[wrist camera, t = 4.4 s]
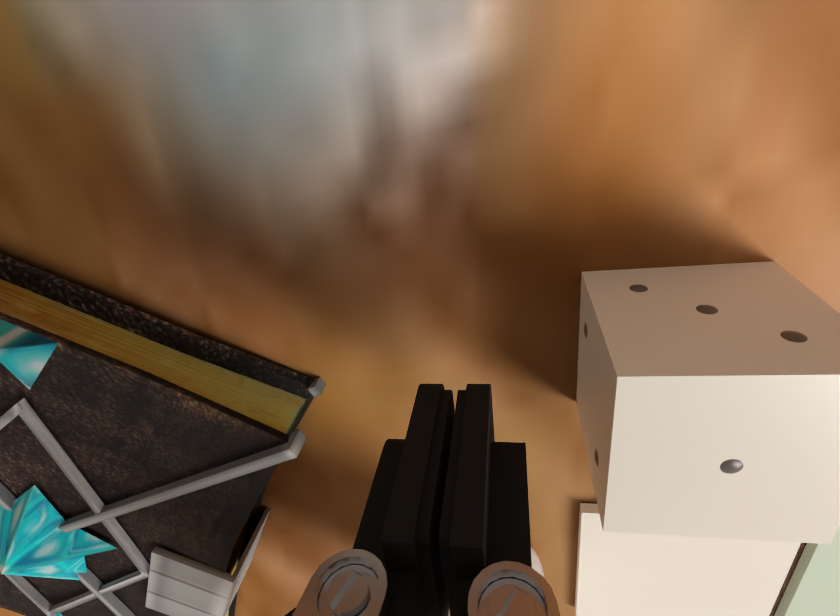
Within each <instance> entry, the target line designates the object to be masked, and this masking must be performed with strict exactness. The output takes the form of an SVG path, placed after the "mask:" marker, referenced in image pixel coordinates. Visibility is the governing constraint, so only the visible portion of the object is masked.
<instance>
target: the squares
mask: <svg viewBox="0 0 840 616" xmlns="http://www.w3.org/2000/svg"><path fill="white" fill-rule="evenodd" d="M800 544H801V543H798V542H779V541H761V540H743V539H725V538H707V537H689V536H671V535H652V534H634V533H616V532H603V529H602V524H601V519H600V514H599V510H598V505H597V504H592V503H580V512H579V532H578V552H577V571H576V591H575V615H576V616H769V615H770V613H771V610H772V608H773V606H774V603H775V601H776V599H777V597H778V594H779V592H780V590H781V588H782V585H783V583H784V581H785V578H786V576H787V574H788V572H789V569H790V567H791V565H792V562H793V560H794V558H795V556H796V553H797V551H798V549H799V546H800ZM774 616H840V526H839V528H838V530H837V532H836V534H835V536H834V538H833V540H832V542H831V544H816V543H807V544H806V546H805V548H804V550H803V553H802V555H801V557H800V559H799V561H798V564H797V566H796V568H795V570H794V573H793V575H792V577H791V579H790V582H789V584H788V586H787V588H786V590H785V593H784V595H783V597H782V599H781V602H780V604H779V606H778V608H777V611H776V613H775V615H774Z"/></svg>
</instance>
